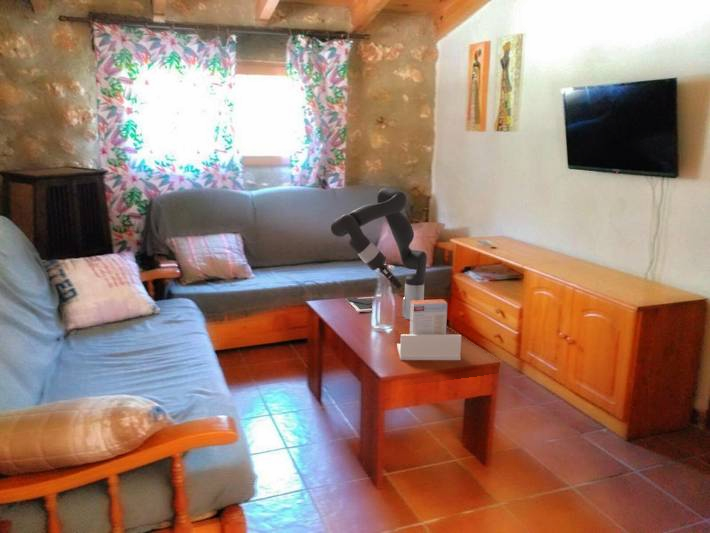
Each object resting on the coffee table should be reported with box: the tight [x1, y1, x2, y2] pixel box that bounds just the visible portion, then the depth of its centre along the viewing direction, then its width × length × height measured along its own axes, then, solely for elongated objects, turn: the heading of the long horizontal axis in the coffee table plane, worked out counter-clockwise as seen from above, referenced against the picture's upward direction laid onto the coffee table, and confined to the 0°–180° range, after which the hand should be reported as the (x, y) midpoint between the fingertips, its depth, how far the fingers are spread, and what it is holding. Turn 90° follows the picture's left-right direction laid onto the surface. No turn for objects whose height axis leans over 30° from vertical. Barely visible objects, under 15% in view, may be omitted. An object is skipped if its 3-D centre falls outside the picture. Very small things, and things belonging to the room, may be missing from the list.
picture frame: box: [345, 296, 375, 313], centre depth 301 cm, size 16×3×21 cm
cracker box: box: [409, 298, 448, 335], centre depth 237 cm, size 14×6×21 cm, turn 99°
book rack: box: [396, 333, 462, 361], centre depth 239 cm, size 14×24×10 cm, turn 92°
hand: (398, 284), depth 233 cm, fingers open, 8 cm apart
